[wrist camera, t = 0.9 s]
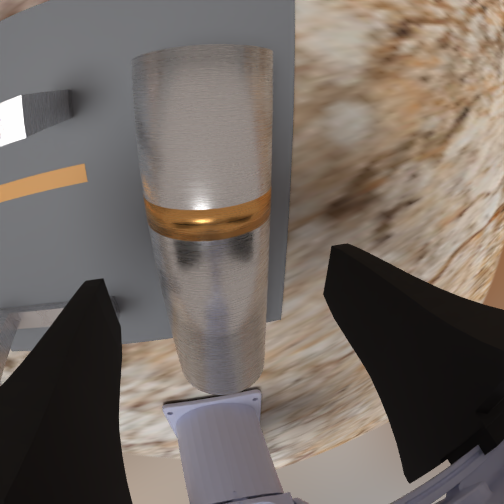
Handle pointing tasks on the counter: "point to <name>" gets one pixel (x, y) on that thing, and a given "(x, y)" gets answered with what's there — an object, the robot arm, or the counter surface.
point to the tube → (209, 202)
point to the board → (115, 149)
